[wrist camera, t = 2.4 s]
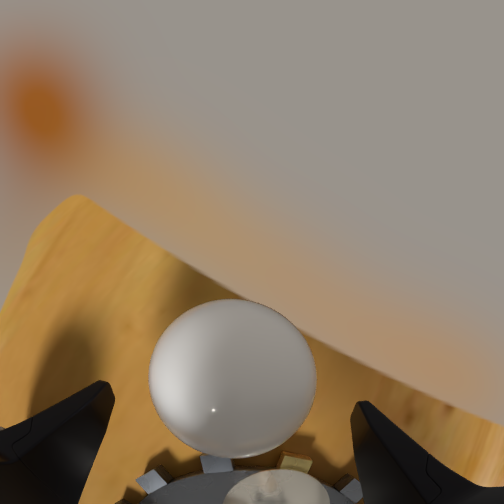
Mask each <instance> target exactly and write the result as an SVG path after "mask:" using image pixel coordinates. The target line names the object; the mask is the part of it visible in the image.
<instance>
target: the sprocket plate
mask: <svg viewBox="0 0 504 504" xmlns="http://www.w3.org/2000/svg"><path fill="white" fill-rule="evenodd" d="M200 459H201V463H202V467H203V470H200V471H195V472H191V473H188V474H185V475H182V476H179V477H176V478H174V479H173V477H172V476H171V475H170V474H169V473H168V472H167V471H166V470H165V468H164V467H163V466H162V465H159V466H157V467H156V468H154V469H152V470H151V471H149V472H147V473H145V474H144V475H142V476H140V477H139V478H137V479H136V481H137V482H138V484H139V485H140V486H141V487H142V488H143V489H144V490H145V491H146V492H147V494H149V495H148V496H146V497H145V498H144V499H143V500H142V501H141V502H140V503H139V504H355V503H357V502H358V501H359V500H361V499H362V498H363V494H362V489H361V484H360V482H359V481H358V480H356V479H355V478H354V477H352V476H351V475H350V474H348V473H347V474H346V475H345V476H344V477H342V478H341V479H340V480H339V481H338V482H337V483H336V484H335V485H334V486H335V487H336V488H335V487H334V486H332V485H331V484H328V483H326V482H324V481H322V480H320V479H318V478H315V477H312V476H311V475H309V474H308V472H309V469H310V467H311V464H312V462H313V461H312V460H311V459H310V457H309V456H305V455H300V454H295V453H290V452H286V451H282V453H281V456H280V458H279V461H278V463H277V466H276V468H275V467H265V466H235V464H234V460H233V458H221V457H216V456H211V455H208V454H205V453H202V454H201V455H200ZM351 500H352V501H353V502H352V501H351ZM115 504H131V503H130V502H128V501H126V500H124V499H121V500H120V501H118V502H116V503H115Z"/></svg>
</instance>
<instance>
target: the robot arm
mask: <svg viewBox="0 0 504 504" xmlns="http://www.w3.org/2000/svg"><path fill="white" fill-rule="evenodd" d="M114 403H115V396H114V394H113V391H112V388H111V385H110V384H109V383H108V382H106V381H102V380H99V381H97V382H95V383H93V384H91V385H89V386H88V387H86V388H84V389H82V390H81V391H79V392H77V393H75V394H73V395H71V396H70V397H68V398H66V399H64V400H62V401H61V402H59V403H57V404H55V405H53V406H51V407H49V408H48V409H46V410H44V411H42V412H40V413H38V414H36V415H34V416H33V417H30V418H28V419H27V420H25V421H22V422H20V423H18V424H16V425H14V426H11V427H9V428H6V429H3V430H1V431H0V504H78V502H79V500H80V497H81V494H82V491H83V488H84V486H85V483H86V480H87V478H88V475H89V473H90V470H91V467H92V465H93V462H94V460H95V457H96V455H97V452H98V450H99V447H100V445H101V443H102V440H103V438H104V435H105V433H106V430H107V426H108V423H109V420H110V416H111V413H112V409H113V406H114ZM350 422H351V431H352V440H353V450H354V457H355V462H356V466H357V471H358V475H359V480H360V484H361V489H362V494H363V499H364V504H504V487H482V486H479V485H476V484H474V483H472V482H470V481H469V480H467V479H465V478H464V477H462V476H460V475H459V474H457V473H455V472H454V471H452V470H451V469H449V468H448V467H446V466H445V465H443V464H442V463H441V462H439V461H438V460H437V459H436V458H434V457H433V456H432V455H431V454H428V452H427V451H426V450H425V449H423V448H422V447H421V446H420V445H419V444H417V443H416V442H415V441H414V440H413V439H412V438H410V437H409V436H408V435H407V434H406V433H404V432H403V431H402V430H401V429H400V428H399V427H398V426H396V425H395V424H394V423H393V422H392V421H391V420H389V419H388V418H387V417H386V416H385V415H384V414H383V413H381V412H380V411H379V410H378V409H377V408H376V407H375V406H374V405H372V404H371V403H370V402H369V401H359V402H357V403H356V405H355V407H354V410H353V412H352V414H351V418H350Z"/></svg>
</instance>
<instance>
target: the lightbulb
mask: <svg viewBox="0 0 504 504" xmlns="http://www.w3.org/2000/svg"><path fill="white" fill-rule="evenodd" d="M148 382H149V390H150V395H151V399H152V402H153V405H154V407H155V410H156V412H157V414H158V415H159V417H160V419H161V420H162V422H163V423H164V424H165V426H166V427H167V428H168V429H169V430H170V432H171V433H173V434H174V435H175V436H176V437H177V438H178V439H179V440H181V441H182V442H183V443H185V444H186V445H188V446H189V447H191V448H193V449H195V450H197V451H200V452H202V453H205V454H208V455H211V456H216V457H221V458H248V457H253V456H257V455H260V454H263V453H266V452H268V451H271V450H273V449H275V448H276V447H278V446H280V445H281V444H283V443H284V442H285V441H287V440H288V439H289V438H290V437H291V436H293V435H294V434H295V432H296V431H297V430H298V429H299V428H300V427H301V425H302V424H303V423H304V421H305V419H306V418H307V416H308V414H309V412H310V410H311V407H312V405H313V402H314V398H315V393H316V385H317V374H316V366H315V361H314V358H313V355H312V352H311V350H310V347H309V345H308V343H307V341H306V340H305V338H304V337H303V335H302V334H301V333H300V331H299V330H298V329H297V328H296V327H295V326H294V325H293V324H292V323H291V322H290V321H289V320H288V319H287V318H285V317H284V316H283V315H281V314H280V313H278V312H277V311H275V310H273V309H271V308H269V307H267V306H265V305H262V304H259V303H256V302H252V301H248V300H242V299H220V300H214V301H210V302H206V303H203V304H200V305H198V306H195V307H193V308H191V309H189V310H188V311H186V312H184V313H183V314H181V315H180V316H179V317H177V318H176V319H175V320H174V321H173V322H172V323H171V324H170V325H169V326H168V327H167V328H166V329H165V331H164V332H163V333H162V335H161V336H160V338H159V340H158V341H157V343H156V345H155V348H154V350H153V353H152V356H151V360H150V365H149V373H148Z"/></svg>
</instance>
